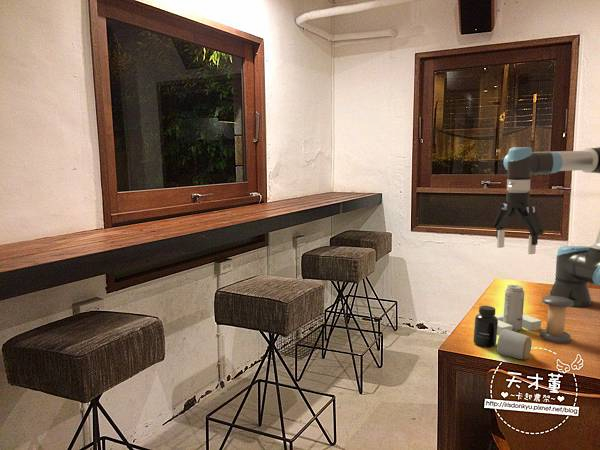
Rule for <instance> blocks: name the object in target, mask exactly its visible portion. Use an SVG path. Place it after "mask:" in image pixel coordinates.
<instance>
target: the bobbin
mask: <svg viewBox="0 0 600 450" xmlns="http://www.w3.org/2000/svg"><path fill="white" fill-rule="evenodd" d="M541 302H542V303H543V304H545V305H548V310H547V321H546V322H547V323H546V328H544V329H542V328H541V329H539V337H541V338H540V339H542V338H543V339H545V340H544V341H546V340H547V341H546V342H549V341H550V343H554V344H568V343H570V342H571V334H570V333H568V332H566V331H565V322H566V310H567V308H571V307H574V306H573V301H572V300H571V299H568V298H564V297H559V296H549V295H546V296H545V295H544V296H543V297H541ZM543 339H542V340H543Z"/></svg>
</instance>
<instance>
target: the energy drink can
mask: <svg viewBox="0 0 600 450" xmlns="http://www.w3.org/2000/svg"><path fill="white" fill-rule="evenodd" d="M524 302H525V291H524V289H523V286H522V285H519V284H509V285H507V287H506V289H505V291H504V304H503V305H504V307H503V315H504V318H503V322H505V323H507V324H510V325H512V326H513V329H512V331H513V332H519V330H520V331H521V329H522V320H523V314H524V306H525V305H524V304H525V303H524Z"/></svg>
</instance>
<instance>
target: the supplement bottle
mask: <svg viewBox="0 0 600 450" xmlns="http://www.w3.org/2000/svg"><path fill="white" fill-rule="evenodd" d="M478 309H479V310H478V314H475V318H474V327H473V328H474V329H473V343H474V344H475V345H476V346H479V347H480V348H494V347H495V346H497V340H498V338H497V337H498V335H497V327H498V319H497V317H495V316H496V308H495V307H493V306H491V305H480V306H479V308H478Z"/></svg>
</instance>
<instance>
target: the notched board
mask: <svg viewBox="0 0 600 450" xmlns="http://www.w3.org/2000/svg"><path fill="white" fill-rule="evenodd" d="M494 316H495V317H497V319H498V327H497V336H499V335H500V333H501V331H502V330H503V329H507V330H510V331H512V329H513V326H512V325H510V324H507V323H505V322H503V318H504V314H498V315H494ZM522 327H523V329H525V330H527V329H528V331H530V330H533V331H537V329H538V330H542V320H541V319H538V318H536V317H533V316H531V315H527V314H524V313H523V320H522Z"/></svg>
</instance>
